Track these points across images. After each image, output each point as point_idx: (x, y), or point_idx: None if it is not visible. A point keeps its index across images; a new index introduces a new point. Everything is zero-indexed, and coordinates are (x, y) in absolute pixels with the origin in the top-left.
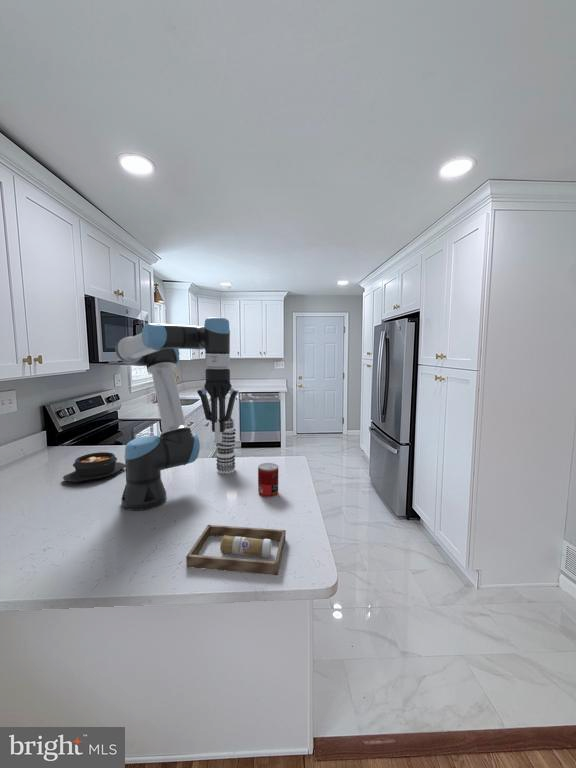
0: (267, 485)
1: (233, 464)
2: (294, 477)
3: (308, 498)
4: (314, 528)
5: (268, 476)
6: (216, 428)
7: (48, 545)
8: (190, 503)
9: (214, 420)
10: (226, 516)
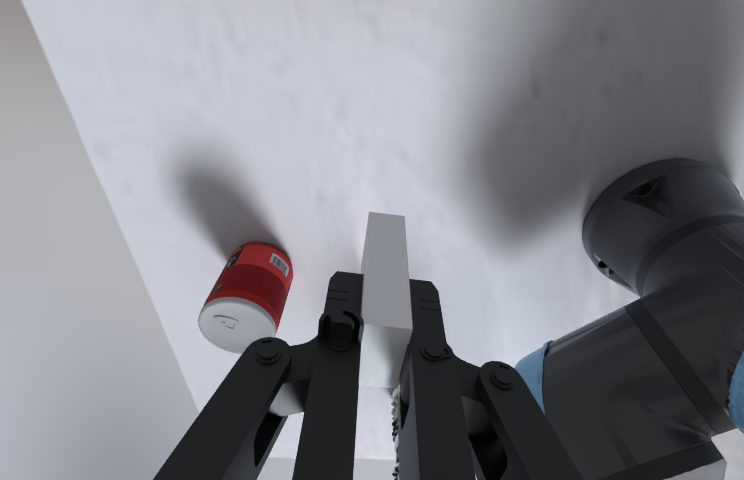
0: (248, 263)
1: (395, 407)
2: (205, 354)
3: (129, 233)
4: (52, 36)
5: (235, 283)
6: (393, 286)
7: None
8: (499, 205)
9: (417, 351)
10: (366, 119)
